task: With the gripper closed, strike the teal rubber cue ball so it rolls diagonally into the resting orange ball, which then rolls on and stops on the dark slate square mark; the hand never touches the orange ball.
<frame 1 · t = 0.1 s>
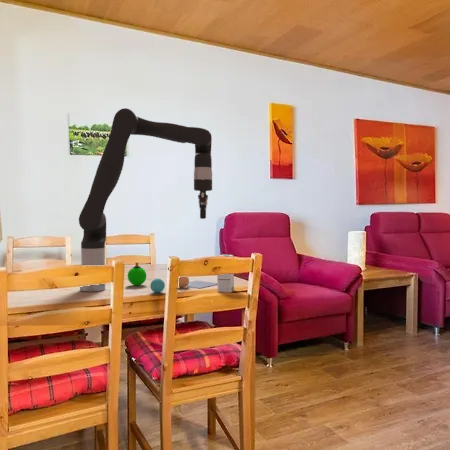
hand: (203, 218, 172), 29 cm above the table, tool pointing down, fingers open, 8 cm apart
slate mark: (198, 284, 184), on the table
teal cue ball: (157, 285, 165), on the table
syrup box: (225, 291, 169), on the table
orange ball: (182, 281, 176), on the table
ornament: (137, 286, 182), on the table
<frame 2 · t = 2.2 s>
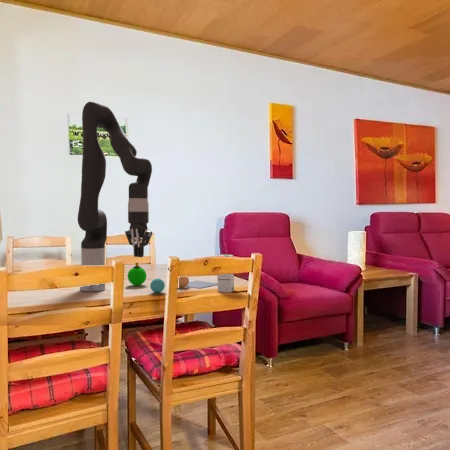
hand: (138, 256, 157), 15 cm above the table, tool pointing down, fingers closed
nothing on the table moved.
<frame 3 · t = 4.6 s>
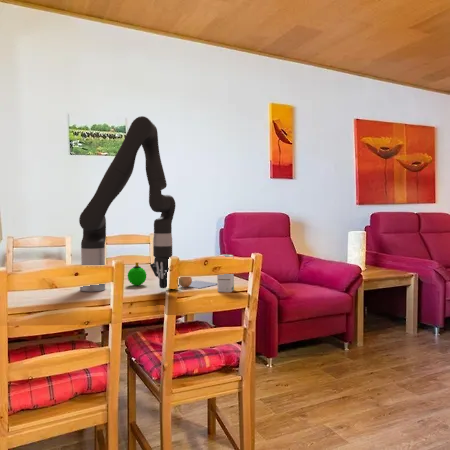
hand: (163, 287, 167), 2 cm above the table, tool pointing down, fingers closed
teal cue ball: (172, 282, 172), on the table
orange ball: (185, 280, 178), on the table
everything else where it was.
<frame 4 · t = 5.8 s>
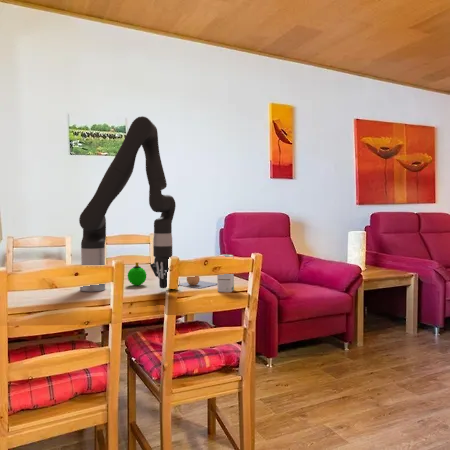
hand: (163, 287, 168), 1 cm above the table, tool pointing down, fingers closed
orange ball: (193, 279, 182), on the table
everything else where it was.
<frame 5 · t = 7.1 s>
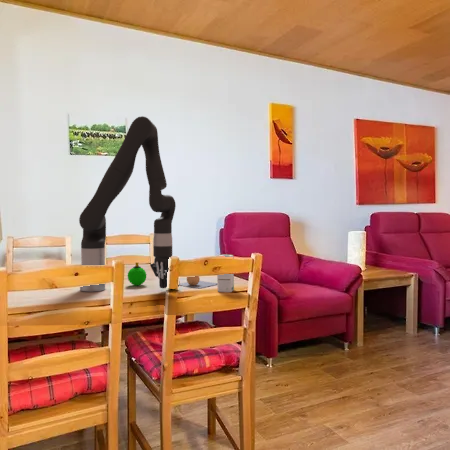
hand: (163, 287, 168), 1 cm above the table, tool pointing down, fingers closed
nothing on the table moved.
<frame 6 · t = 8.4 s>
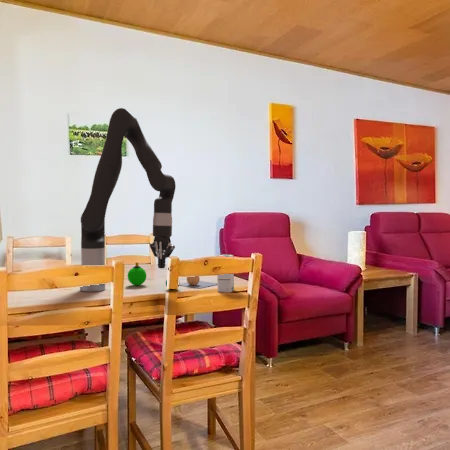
hand: (161, 268, 166), 10 cm above the table, tool pointing down, fingers closed
nothing on the table moved.
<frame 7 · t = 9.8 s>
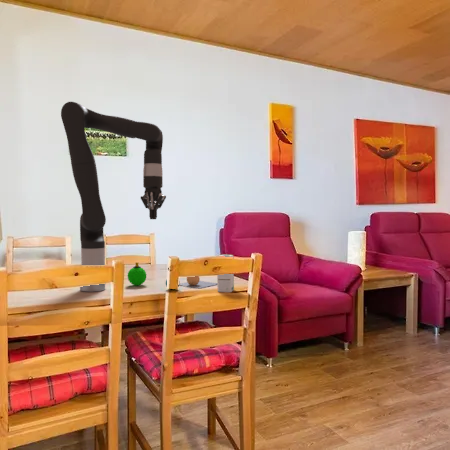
hand: (153, 219, 167), 29 cm above the table, tool pointing down, fingers closed
nothing on the table moved.
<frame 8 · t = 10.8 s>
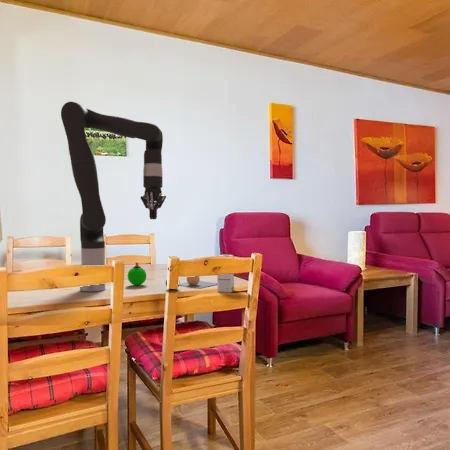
hand: (153, 219, 167), 29 cm above the table, tool pointing down, fingers closed
nothing on the table moved.
at the end: orange ball 3.2 cm from the slate mark (horizontally); orange ball never touched the robot; teal cue ball first touched orange ball at 4.4 s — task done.
